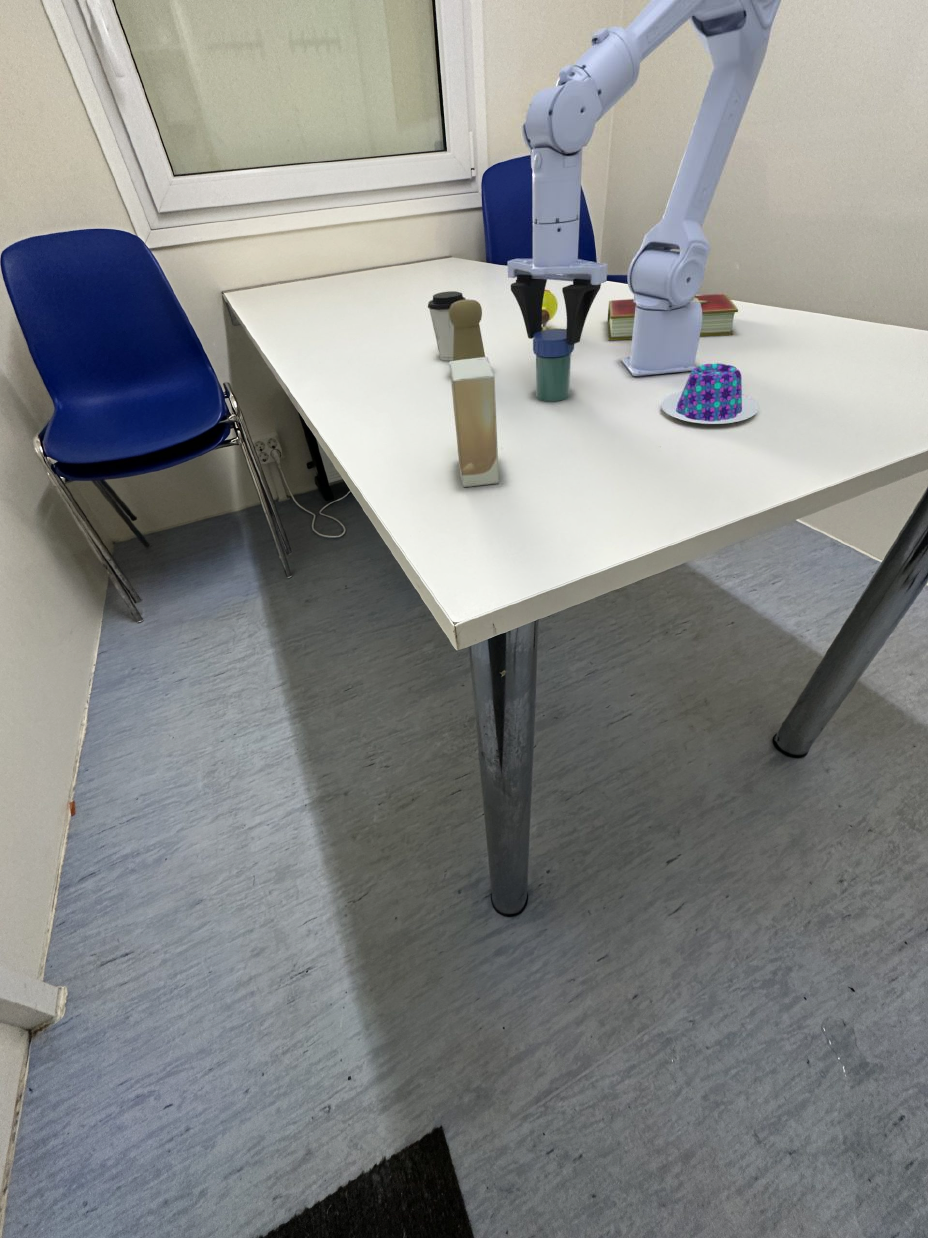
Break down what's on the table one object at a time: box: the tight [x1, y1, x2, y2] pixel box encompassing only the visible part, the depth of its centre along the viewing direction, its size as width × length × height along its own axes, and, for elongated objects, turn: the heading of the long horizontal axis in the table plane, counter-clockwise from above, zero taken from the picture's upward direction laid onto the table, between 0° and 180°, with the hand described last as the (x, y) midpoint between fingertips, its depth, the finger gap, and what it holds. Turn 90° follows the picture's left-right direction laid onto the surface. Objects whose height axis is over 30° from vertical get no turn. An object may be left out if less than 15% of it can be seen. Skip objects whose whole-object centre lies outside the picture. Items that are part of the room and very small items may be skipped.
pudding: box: [660, 362, 760, 425], centre depth 70 cm, size 12×12×5 cm
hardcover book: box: [606, 293, 739, 341], centre depth 100 cm, size 12×21×4 cm, turn 81°
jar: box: [535, 353, 572, 403], centre depth 79 cm, size 5×5×8 cm
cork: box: [449, 298, 486, 361], centre depth 88 cm, size 6×6×11 cm
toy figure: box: [541, 289, 559, 331], centre depth 105 cm, size 18×6×7 cm, turn 172°
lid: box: [532, 328, 575, 357], centre depth 76 cm, size 6×6×2 cm
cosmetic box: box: [449, 356, 500, 488], centre depth 61 cm, size 6×4×12 cm
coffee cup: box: [427, 290, 467, 362], centre depth 96 cm, size 7×7×10 cm
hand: (553, 339), depth 76 cm, fingers open, 6 cm apart
